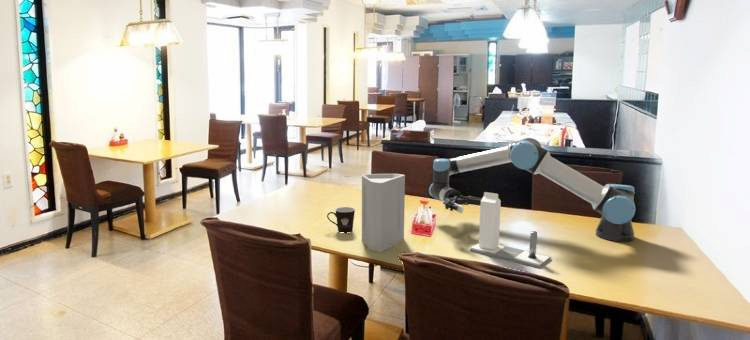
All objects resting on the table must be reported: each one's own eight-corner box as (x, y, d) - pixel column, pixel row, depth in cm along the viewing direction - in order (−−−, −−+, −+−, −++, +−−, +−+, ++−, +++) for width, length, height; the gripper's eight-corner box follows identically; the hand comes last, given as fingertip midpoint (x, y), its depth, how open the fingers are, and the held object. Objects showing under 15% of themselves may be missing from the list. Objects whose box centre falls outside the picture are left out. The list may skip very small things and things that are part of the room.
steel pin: (536, 257, 188) (538, 231, 186) (534, 258, 186) (535, 233, 184) (530, 255, 190) (532, 230, 188) (527, 257, 188) (529, 232, 186)
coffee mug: (358, 229, 224) (358, 208, 222) (349, 235, 217) (349, 213, 215) (335, 226, 229) (335, 205, 227) (326, 231, 221) (325, 209, 219)
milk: (484, 243, 203) (487, 190, 200) (498, 246, 200) (501, 192, 196) (478, 247, 198) (480, 193, 195) (492, 250, 195) (495, 195, 191)
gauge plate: (550, 258, 190) (551, 255, 190) (539, 268, 181) (539, 264, 180) (483, 243, 207) (484, 240, 207) (470, 251, 198) (470, 247, 198)
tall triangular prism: (375, 233, 220) (375, 171, 214) (404, 239, 212) (405, 174, 206) (350, 245, 204) (349, 178, 199) (380, 252, 196) (381, 183, 191)
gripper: (474, 202, 230) (501, 214, 211) (426, 207, 221) (450, 220, 202) (474, 186, 229) (502, 197, 209) (426, 191, 220) (450, 202, 200)
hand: (476, 208), depth 205 cm, fingers open, 13 cm apart
